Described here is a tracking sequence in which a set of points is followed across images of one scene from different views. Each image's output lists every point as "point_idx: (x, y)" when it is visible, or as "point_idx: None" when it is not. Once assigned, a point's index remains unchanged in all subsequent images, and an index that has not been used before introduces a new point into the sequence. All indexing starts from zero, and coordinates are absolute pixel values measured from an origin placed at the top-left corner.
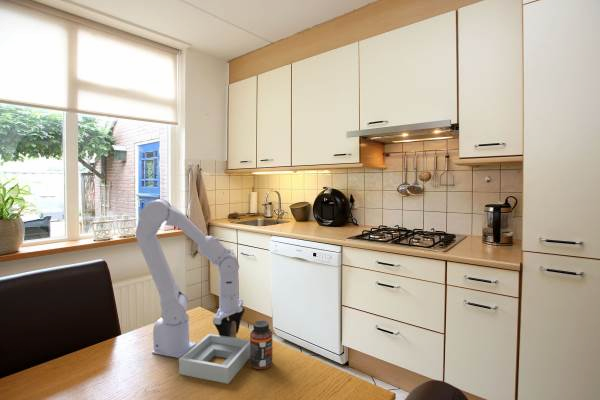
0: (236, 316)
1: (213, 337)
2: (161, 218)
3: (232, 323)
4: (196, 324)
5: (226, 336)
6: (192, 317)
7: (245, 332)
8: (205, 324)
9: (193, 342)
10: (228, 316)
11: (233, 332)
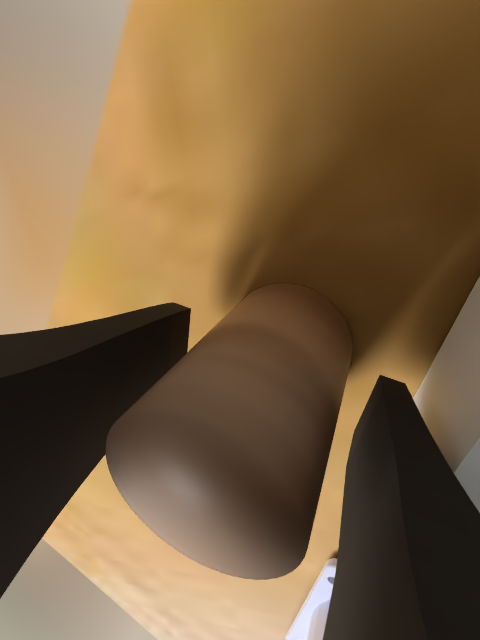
0: (12, 441)
1: None
2: None
3: (191, 463)
4: (113, 521)
5: (461, 469)
6: (67, 528)
7: (105, 235)
8: (99, 487)
9: (327, 576)
10: (52, 519)
11: (297, 372)
